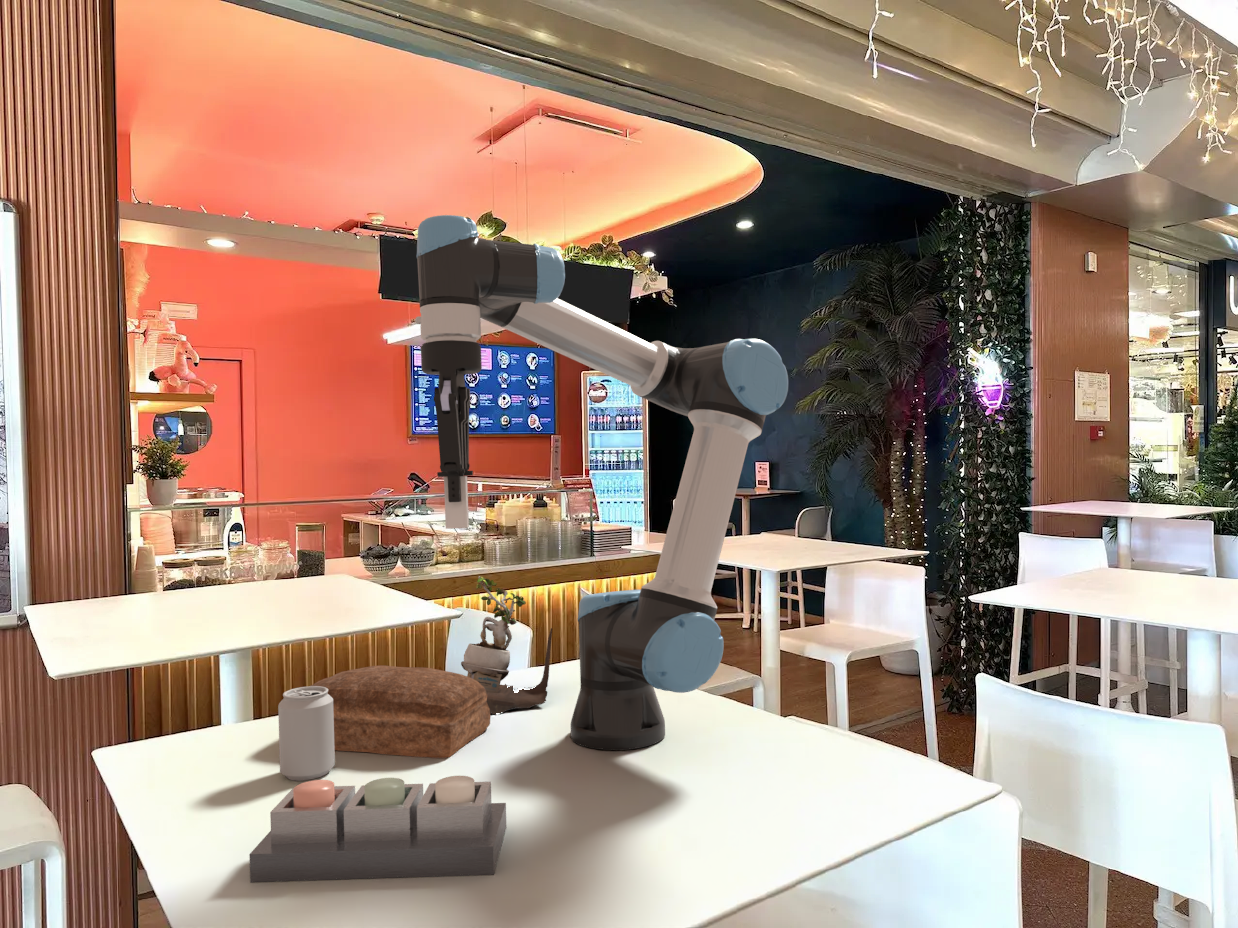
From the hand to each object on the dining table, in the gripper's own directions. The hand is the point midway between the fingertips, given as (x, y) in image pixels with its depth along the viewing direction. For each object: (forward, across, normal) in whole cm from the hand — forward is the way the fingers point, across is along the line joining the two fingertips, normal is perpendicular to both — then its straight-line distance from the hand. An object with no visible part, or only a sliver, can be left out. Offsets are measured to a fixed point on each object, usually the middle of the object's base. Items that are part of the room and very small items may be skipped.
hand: (457, 527), depth 111 cm
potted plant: (+37, -52, -2) cm, 64 cm away
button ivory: (+33, +12, +1) cm, 35 cm away
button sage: (+33, +12, -7) cm, 35 cm away
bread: (+37, -31, -17) cm, 51 cm away
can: (+36, -15, -25) cm, 47 cm away
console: (+36, +12, -7) cm, 39 cm away
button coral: (+33, +12, -15) cm, 38 cm away
